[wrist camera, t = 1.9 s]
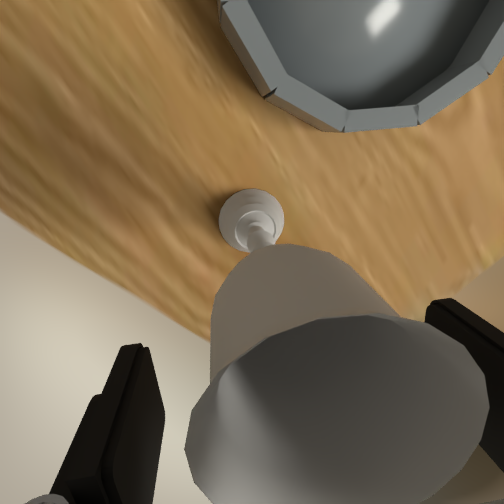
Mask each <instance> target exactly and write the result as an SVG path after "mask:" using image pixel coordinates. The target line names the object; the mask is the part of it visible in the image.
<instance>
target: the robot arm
mask: <svg viewBox="0 0 504 504" xmlns="http://www.w3.org/2000/svg"><path fill="white" fill-rule="evenodd" d="M424 323H428V324H430V325H431V326H433V327H435V328H436V329H438V330H439V331H441V332H443V333H444V334H446V335H448V336H449V337H451V338H452V339H454V340H456V341H457V342H459V343H461V344H462V345H464V346H465V348H466V349H467V351H468V352H469V353H470V355H471V356H472V358H473V359H474V361H475V362H476V364H477V365H478V366H479V368H480V369H481V371H482V372H483V374H484V376H485V382H486V388H487V395H488V401H489V411H488V415H487V419H486V423H485V427H484V430H483V434H482V438H481V441H480V442H479V445H480V446H481V447H482V448H483V449H484V450H485V452H486V453H487V454H488V455H489V456H490V458H491V459H492V460H493V461H494V462H495V463H496V464H497V466H498V467H499V468H500V469H501V470H502V471H503V472H504V333H503V332H501V331H500V330H499V329H497V328H496V327H494V326H493V325H491V324H490V323H488V322H487V321H485V320H484V319H482V318H481V317H479V316H478V315H476V314H475V313H473V312H472V311H471V310H469V309H468V308H466V307H465V306H463V305H462V304H460V303H459V302H457V301H456V300H454V299H452V298H446V299H439V300H434V301H432V302H431V303H430V305H429V306H428V307H427V309H426V315H425V322H424ZM164 424H165V410H164V406H163V402H162V398H161V394H160V390H159V386H158V382H157V378H156V374H155V370H154V366H153V362H152V358H151V354H150V350H149V348H148V347H143V345H142V344H141V343H138V344H131V345H124V346H122V347H121V348H120V350H119V353H118V355H117V357H116V360H115V362H114V365H113V367H112V369H111V372H110V375H109V377H108V379H107V382H106V384H105V386H104V389H103V391H102V394H98V395H95V396H94V397H93V398H92V399H91V401H90V403H89V405H88V407H87V409H86V412H85V414H84V416H83V418H82V421H81V423H80V425H79V427H78V430H77V432H76V434H75V436H74V439H73V441H72V443H71V445H70V448H69V450H68V452H67V455H66V457H65V459H64V461H63V464H62V466H61V468H60V470H59V473H58V475H57V477H56V479H55V482H54V484H53V486H52V488H51V491H50V493H49V494H48V495H42V496H39V497H37V498H34V499H32V500H30V501H28V502H27V503H25V504H152V502H153V497H154V490H155V483H156V477H157V470H158V464H159V457H160V450H161V444H162V437H163V431H164ZM482 504H504V499H501V500H496V501H491V502H487V503H482Z"/></svg>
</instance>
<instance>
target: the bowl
mask: <svg viewBox="0 0 504 504" xmlns="http://www.w3.org/2000/svg"><path fill="white" fill-rule="evenodd" d="M217 5H218V15H219V23H221V29H222V30H223V32H224V34H225V36H226V37H227V39H228V41H229V42H230V44H231V46H232V47H233V49H234V51H235V52H236V54H237V56H238V57H239V59H240V61H241V62H242V64H243V66H244V67H245V69H246V71H247V73H248V74H249V76H250V78H251V79H252V81H253V83H254V84H255V86H256V88H257V89H258V91H259V93H260V94H261V96H262V97H263V96H265V95H266V94H267V95H266V97H265V100H266V101H268V102H270V103H272V104H274V105H275V106H277V107H279V108H281V109H283V110H285V111H286V112H288V113H290V114H292V115H294V116H295V117H297V118H299V119H301V120H303V121H304V122H306V123H308V124H310V125H312V126H314V127H315V128H317V129H319V130H321V131H325V132H344V133H345V132H356V131H367V130H378V129H390V128H401V127H412V126H417V125H421V124H422V123H424V122H425V121H426V120H428V119H429V118H431V117H432V116H434V115H435V114H437V113H438V112H439V111H441V110H442V109H444V108H445V107H447V106H448V105H450V104H451V103H453V102H454V101H455V100H457V99H458V98H460V97H461V96H463V95H464V94H466V93H467V92H468V91H470V90H471V89H473V88H474V87H476V86H477V85H479V84H480V83H481V82H483V81H484V80H486V79H487V78H488V75H491V74H492V73H493V71H494V70H495V68H496V67H497V65H498V64H499V62H500V60H501V59H502V57H503V56H504V0H217Z"/></svg>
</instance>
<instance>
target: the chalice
mask: <svg viewBox="0 0 504 504" xmlns="http://www.w3.org/2000/svg"><path fill="white" fill-rule="evenodd" d="M283 226H284V213H283V210H282V208H281V205H280V204H279V202H278V201H277V200H276V199H275V197H274V196H272V195H270V194H269V193H267V192H266V191H262V190H258V189H245V190H242V191H240V192H237V193H235V194H233V195H232V196H231V197H230V198H229V199H228V200H226V202H225V204H224V205H223V207H222V209H221V211H220V216H219V228H220V231H221V234H222V236H223V238H224V239H225V240H226V241H227V242H228V244H229V245H230V246H232V247H234V248H236V249H237V250H239V251H244V252H250V254H249V255H248V256H246V257H245V258H244V259H243V260H241V261H240V262H239V263H238V264H237V265H236V266H235V267H234V269H233V270H232V271H231V272H230V273H229V275H228V276H227V278H226V279H225V281H224V283H223V284H222V286H221V287H220V289H219V291H218V292H217V294H216V295H215V300H214V305H213V310H212V315H211V350H210V352H211V353H210V385H209V386H208V388H207V389H206V391H205V392H204V394H203V395H202V396H201V398H200V399H199V401H198V402H197V404H196V405H195V407H194V408H193V409H192V412H191V417H190V422H189V427H188V433H187V438H186V443H185V449H184V450H185V453H186V456H187V460H188V463H189V467H190V470H191V473H192V477H193V480H194V483H195V484H196V485H197V486H198V487H199V489H200V490H201V491H202V492H203V493H204V494H205V495H206V497H207V498H208V499H209V500H210V501H211V502H212V503H213V504H419V503H420V502H422V501H424V500H426V499H427V498H429V497H431V496H433V495H434V494H435V493H436V492H437V491H438V490H439V489H440V488H441V487H443V486H444V485H445V484H446V483H447V482H448V481H449V480H450V479H451V478H453V477H454V476H455V475H456V474H457V473H458V472H459V471H461V469H462V468H463V466H464V465H465V463H466V462H467V460H468V459H469V457H470V456H471V454H472V453H473V451H474V450H475V448H476V447H477V445H478V444H479V442H480V441H481V438H482V434H483V430H484V427H485V423H486V419H487V415H488V411H489V401H488V395H487V388H486V382H485V376H484V374H483V372H482V371H481V369H480V368H479V366H478V365H477V364H476V362H475V361H474V359H473V358H472V356H471V355H470V353H469V352H468V351H467V349H466V348H465V346H464V345H462V344H461V343H459V342H457V341H456V340H454V339H452V338H451V337H449V336H448V335H446V334H444V333H443V332H441V331H439V330H438V329H436V328H435V327H433V326H431V325H430V324H428V323H424V322H419V321H415V320H411V319H407V318H403V317H400V316H399V315H398V314H397V313H396V312H395V311H394V310H393V309H392V308H391V307H390V306H389V305H388V304H387V303H386V302H385V301H384V299H383V298H382V297H381V296H380V295H379V294H378V293H377V292H376V291H375V290H374V289H373V288H372V287H371V286H370V285H369V284H368V283H367V282H366V281H365V280H364V279H363V278H362V277H361V276H360V275H359V274H358V273H357V272H356V271H355V270H354V269H353V268H352V267H351V266H350V265H348V264H347V263H345V262H343V261H342V260H340V259H339V258H337V257H335V256H334V255H332V254H331V253H329V252H325V251H321V250H317V249H313V248H309V247H305V246H299V245H294V244H276V245H275V242H276V240H277V239H278V237H279V236H280V234H281V233H282V229H283Z"/></svg>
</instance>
